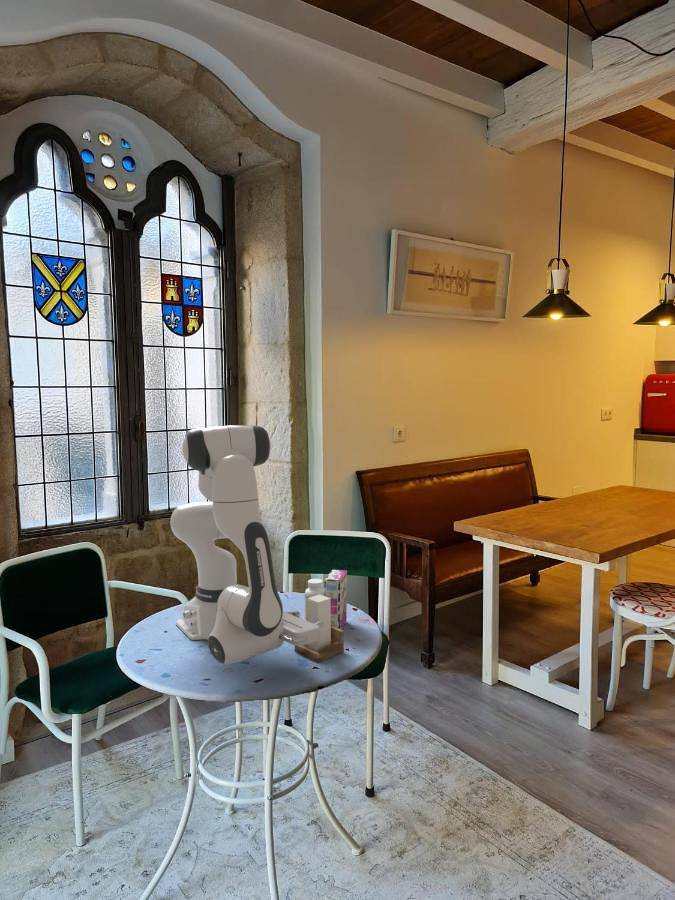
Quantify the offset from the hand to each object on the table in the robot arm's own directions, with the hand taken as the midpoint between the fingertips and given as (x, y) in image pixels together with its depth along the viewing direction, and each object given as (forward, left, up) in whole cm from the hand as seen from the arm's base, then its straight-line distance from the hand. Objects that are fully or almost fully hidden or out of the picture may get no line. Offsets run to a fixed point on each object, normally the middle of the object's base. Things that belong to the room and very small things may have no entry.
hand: (310, 618), depth 170 cm
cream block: (0, +3, -9) cm, 10 cm away
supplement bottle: (-17, +17, -10) cm, 27 cm away
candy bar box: (-9, +18, -10) cm, 23 cm away
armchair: (0, +3, -10) cm, 11 cm away
